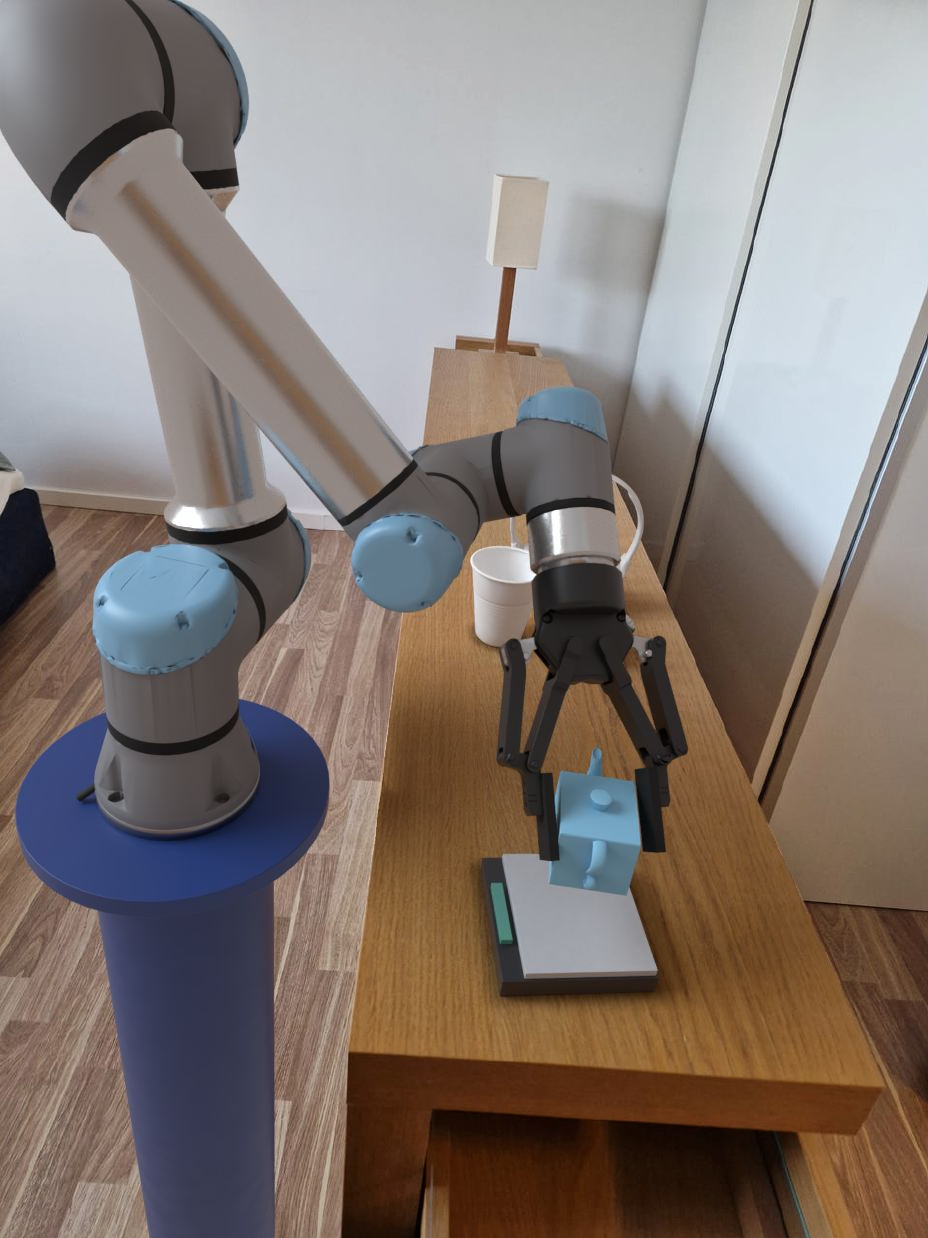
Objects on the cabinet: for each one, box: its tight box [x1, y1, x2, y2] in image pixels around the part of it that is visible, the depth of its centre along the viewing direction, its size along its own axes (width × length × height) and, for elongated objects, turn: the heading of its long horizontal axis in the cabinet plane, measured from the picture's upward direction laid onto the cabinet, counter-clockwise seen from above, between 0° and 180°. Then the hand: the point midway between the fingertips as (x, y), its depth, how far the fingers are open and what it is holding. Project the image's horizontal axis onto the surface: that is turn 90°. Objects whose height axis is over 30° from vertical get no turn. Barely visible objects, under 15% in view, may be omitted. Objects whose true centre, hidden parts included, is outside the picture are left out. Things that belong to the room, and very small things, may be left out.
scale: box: [479, 853, 660, 997], centre depth 76 cm, size 13×13×2 cm
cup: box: [470, 545, 536, 648], centre depth 113 cm, size 10×10×11 cm
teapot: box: [549, 747, 642, 896], centre depth 70 cm, size 12×6×8 cm, turn 174°
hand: (602, 855), depth 67 cm, fingers closed on teapot, 8 cm apart
